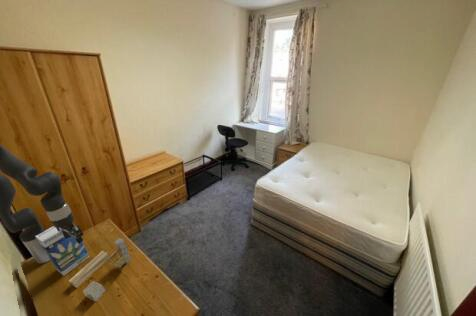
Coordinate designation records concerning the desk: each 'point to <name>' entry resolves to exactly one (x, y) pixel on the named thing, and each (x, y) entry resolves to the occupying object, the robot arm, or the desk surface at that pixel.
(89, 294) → the bracket stand
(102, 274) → the desk surface
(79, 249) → the string lights box
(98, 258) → the pine rail
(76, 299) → the desk surface
